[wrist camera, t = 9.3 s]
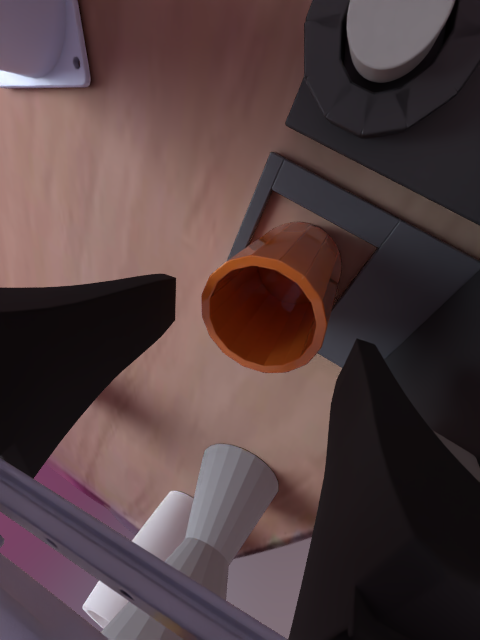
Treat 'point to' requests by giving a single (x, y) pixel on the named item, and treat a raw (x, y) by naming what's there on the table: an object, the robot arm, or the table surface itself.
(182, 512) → the foam cup
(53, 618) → the robot arm
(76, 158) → the table surface
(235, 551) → the lava lamp
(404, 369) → the coffee maker
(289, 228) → the cup
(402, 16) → the brew button
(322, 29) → the button base
